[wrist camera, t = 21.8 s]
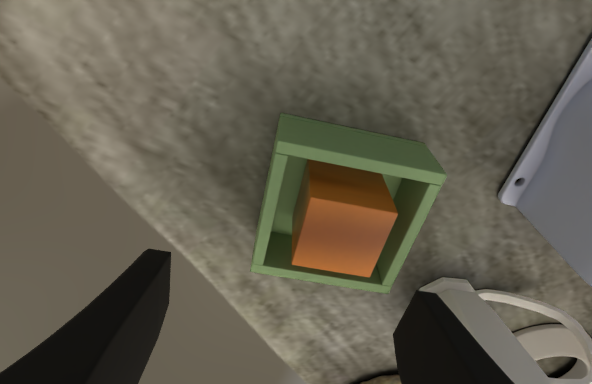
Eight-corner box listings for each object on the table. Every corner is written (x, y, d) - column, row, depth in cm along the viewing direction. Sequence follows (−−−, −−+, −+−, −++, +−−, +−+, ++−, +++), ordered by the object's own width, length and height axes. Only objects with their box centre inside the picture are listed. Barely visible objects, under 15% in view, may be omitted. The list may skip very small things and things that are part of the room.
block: (358, 229, 21) (370, 278, 18) (292, 217, 21) (291, 265, 18) (381, 170, 19) (398, 213, 16) (308, 155, 19) (310, 197, 16)
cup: (386, 272, 24) (423, 395, 17) (548, 242, 23) (658, 362, 16) (399, 339, 27) (433, 462, 21) (539, 316, 26) (626, 440, 19)
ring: (595, 310, 26) (614, 332, 24) (591, 376, 30) (607, 398, 28) (473, 338, 27) (483, 360, 26) (485, 397, 32) (495, 419, 30)
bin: (376, 252, 23) (388, 294, 20) (256, 231, 22) (249, 272, 19) (424, 142, 19) (448, 174, 16) (280, 112, 18) (277, 140, 15)
